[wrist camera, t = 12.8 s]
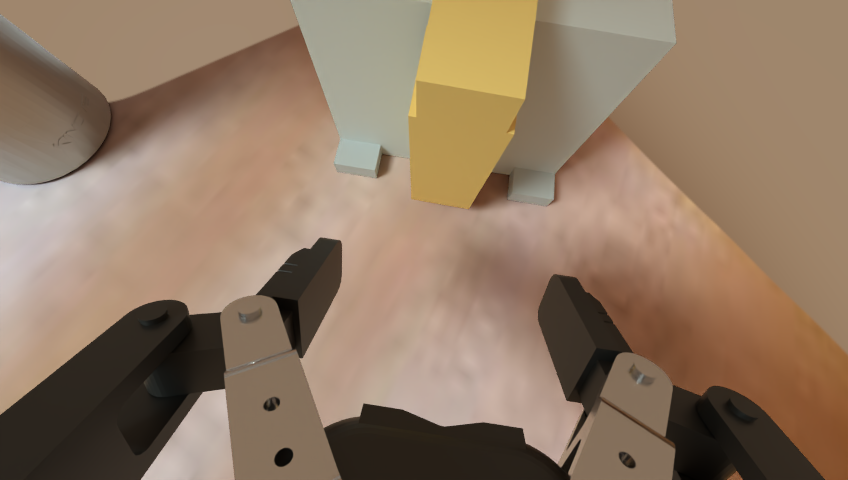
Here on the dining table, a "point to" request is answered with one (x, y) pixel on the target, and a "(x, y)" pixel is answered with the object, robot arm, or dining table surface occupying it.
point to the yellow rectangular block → (467, 95)
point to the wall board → (546, 87)
